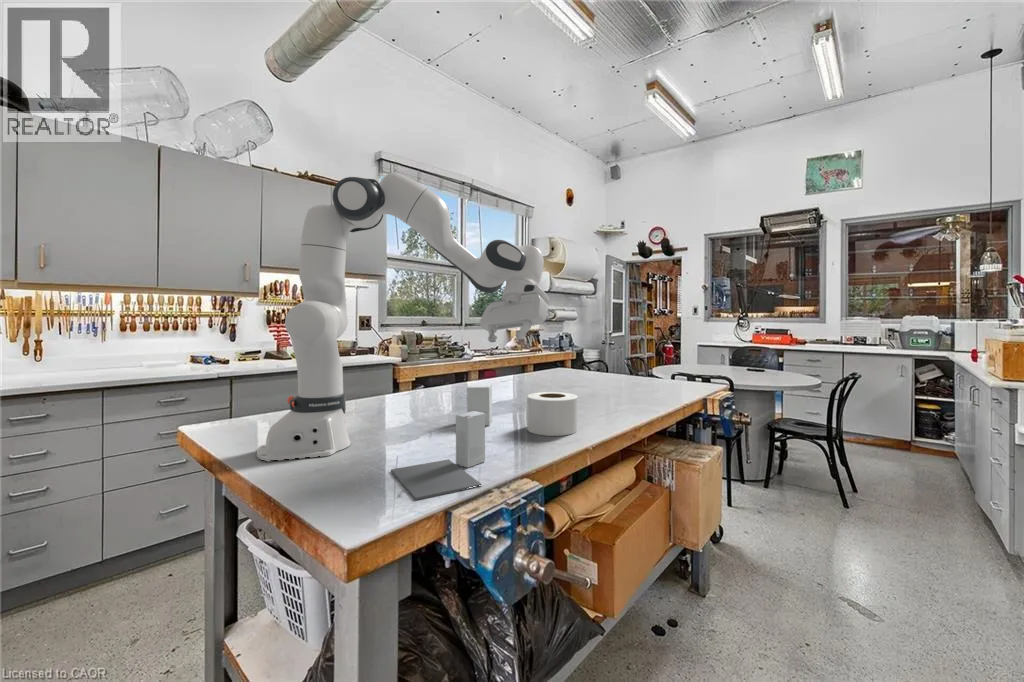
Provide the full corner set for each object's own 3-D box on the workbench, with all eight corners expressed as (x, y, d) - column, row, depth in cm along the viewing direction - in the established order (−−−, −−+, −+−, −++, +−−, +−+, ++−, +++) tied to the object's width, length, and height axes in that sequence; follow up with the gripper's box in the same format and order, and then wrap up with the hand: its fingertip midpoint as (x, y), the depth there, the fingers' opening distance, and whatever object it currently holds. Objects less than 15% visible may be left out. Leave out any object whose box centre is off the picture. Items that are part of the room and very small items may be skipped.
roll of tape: (527, 423, 146) (527, 390, 145) (575, 424, 145) (575, 391, 144) (526, 436, 130) (526, 399, 130) (579, 437, 129) (579, 400, 129)
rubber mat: (415, 500, 85) (415, 497, 85) (390, 471, 101) (390, 469, 101) (481, 486, 92) (481, 483, 92) (448, 461, 108) (448, 459, 108)
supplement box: (492, 421, 149) (492, 383, 148) (489, 426, 141) (489, 387, 140) (471, 420, 149) (470, 383, 148) (466, 426, 142) (466, 386, 141)
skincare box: (473, 458, 110) (473, 410, 109) (486, 462, 107) (486, 412, 107) (454, 464, 105) (454, 414, 105) (467, 469, 103) (467, 417, 102)
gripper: (483, 295, 127) (468, 337, 121) (543, 284, 114) (529, 329, 108) (496, 308, 131) (482, 348, 125) (555, 298, 118) (543, 342, 112)
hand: (505, 339), depth 116 cm, fingers open, 8 cm apart
